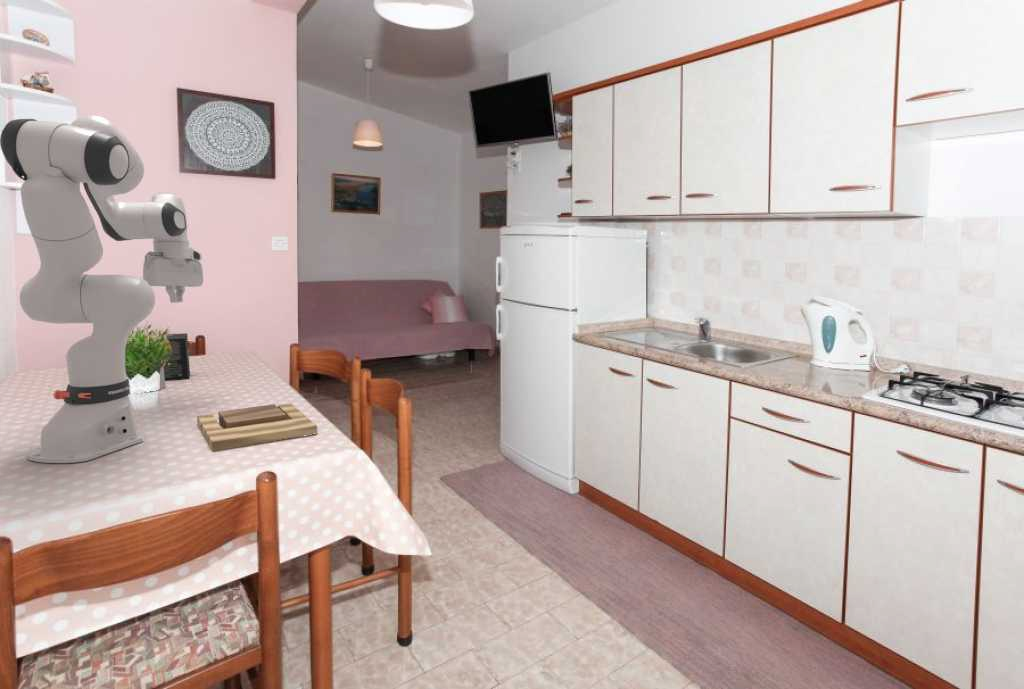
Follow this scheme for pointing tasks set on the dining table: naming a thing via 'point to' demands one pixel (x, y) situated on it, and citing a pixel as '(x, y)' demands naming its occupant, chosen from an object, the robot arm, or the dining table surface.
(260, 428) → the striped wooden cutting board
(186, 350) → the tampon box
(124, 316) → the robot arm
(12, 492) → the dining table surface
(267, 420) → the plank
